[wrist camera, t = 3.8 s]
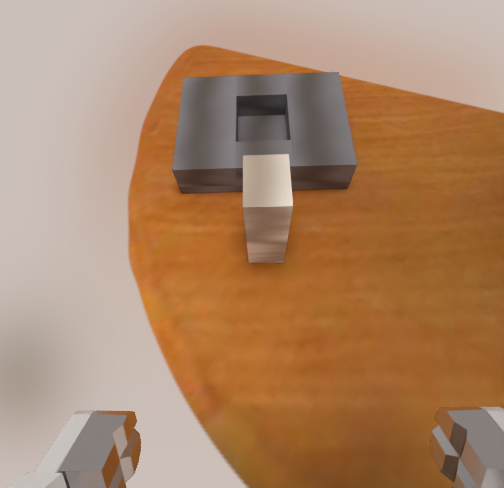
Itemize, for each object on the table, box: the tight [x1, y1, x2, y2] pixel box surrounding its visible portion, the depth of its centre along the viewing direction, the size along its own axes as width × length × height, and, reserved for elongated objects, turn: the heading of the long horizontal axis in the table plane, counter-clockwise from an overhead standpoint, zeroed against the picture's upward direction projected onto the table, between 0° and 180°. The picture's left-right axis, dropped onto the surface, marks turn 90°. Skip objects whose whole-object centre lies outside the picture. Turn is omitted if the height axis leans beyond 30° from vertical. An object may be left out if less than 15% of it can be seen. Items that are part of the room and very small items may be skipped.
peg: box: [243, 154, 293, 263], centre depth 23 cm, size 3×4×9 cm
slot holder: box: [172, 72, 357, 193], centre depth 31 cm, size 16×12×4 cm
